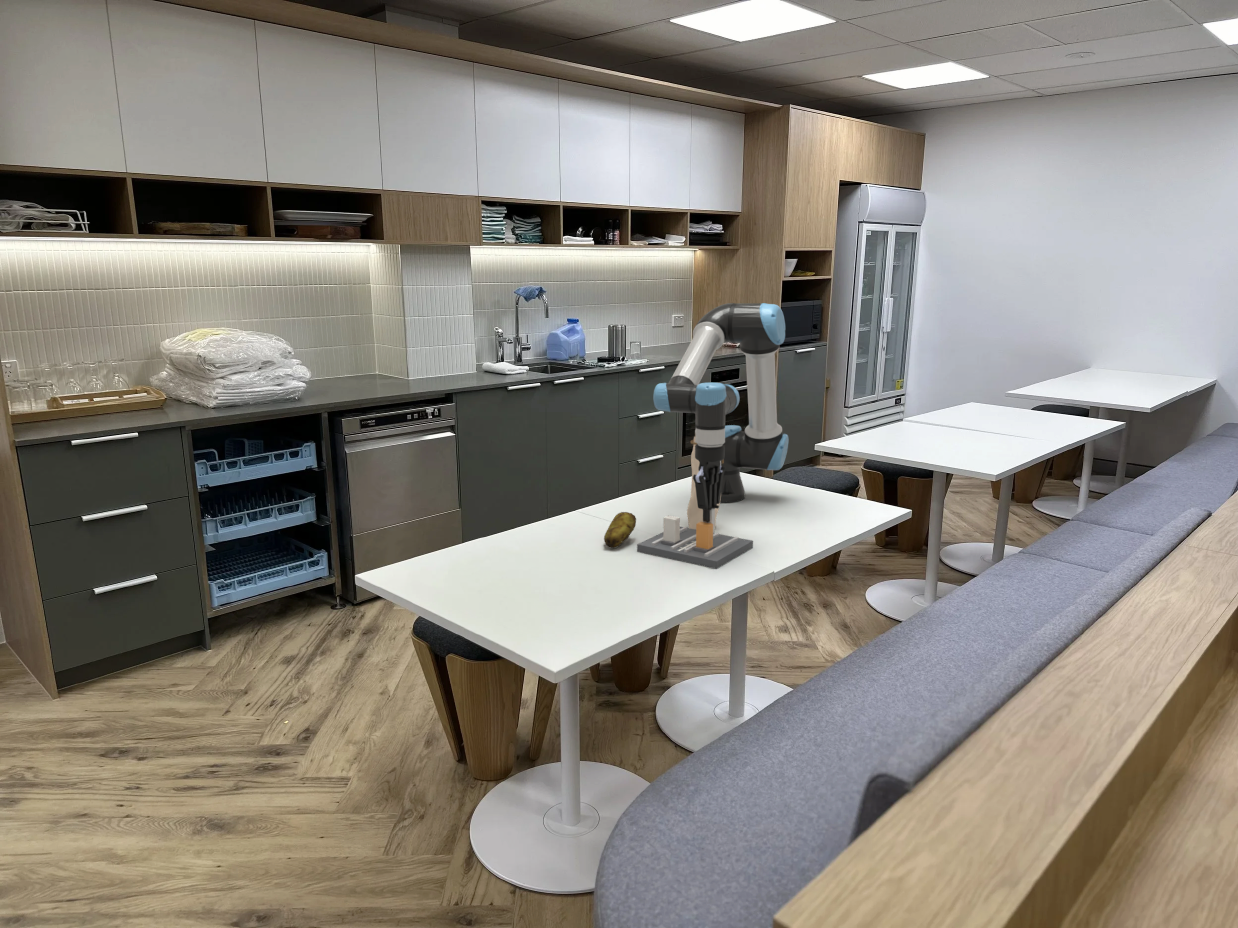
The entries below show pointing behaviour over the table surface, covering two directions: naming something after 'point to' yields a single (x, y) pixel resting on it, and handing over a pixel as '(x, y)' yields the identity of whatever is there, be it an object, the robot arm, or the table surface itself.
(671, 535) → the fader
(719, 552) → the console
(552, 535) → the table surface
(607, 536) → the potato
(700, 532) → the fader
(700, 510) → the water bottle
